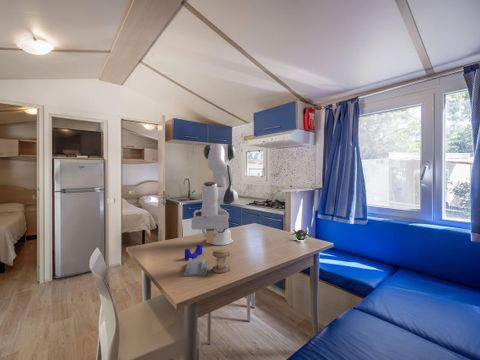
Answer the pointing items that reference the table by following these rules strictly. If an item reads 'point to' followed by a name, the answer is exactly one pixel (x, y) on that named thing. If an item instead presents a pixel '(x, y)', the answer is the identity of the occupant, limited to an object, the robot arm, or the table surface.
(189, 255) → the blue curved block
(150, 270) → the table surface
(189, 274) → the grey channel bracket
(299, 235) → the toy animal
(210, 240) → the grey and tan block
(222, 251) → the door knob
